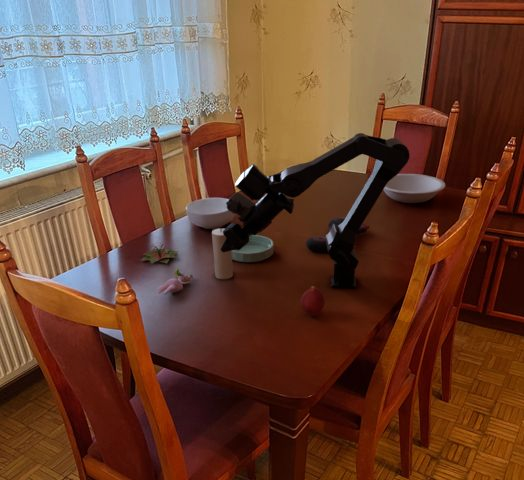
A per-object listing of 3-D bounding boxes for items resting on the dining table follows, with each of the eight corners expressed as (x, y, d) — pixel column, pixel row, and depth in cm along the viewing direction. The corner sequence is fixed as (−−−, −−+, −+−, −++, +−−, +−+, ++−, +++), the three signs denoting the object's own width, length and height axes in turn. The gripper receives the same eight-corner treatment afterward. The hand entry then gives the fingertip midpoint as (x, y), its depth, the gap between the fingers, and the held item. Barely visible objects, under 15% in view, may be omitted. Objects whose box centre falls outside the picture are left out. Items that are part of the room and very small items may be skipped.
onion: (309, 306, 137) (310, 278, 133) (328, 313, 134) (330, 284, 130) (296, 316, 133) (296, 287, 129) (315, 323, 130) (316, 293, 126)
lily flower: (186, 252, 168) (184, 238, 165) (169, 268, 158) (167, 253, 156) (151, 248, 171) (149, 234, 169) (133, 263, 162) (130, 249, 159)
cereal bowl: (207, 213, 197) (205, 194, 193) (245, 221, 189) (244, 201, 185) (177, 229, 185) (175, 208, 181) (217, 237, 177) (216, 216, 173)
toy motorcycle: (302, 255, 167) (351, 257, 159) (300, 239, 164) (350, 239, 156) (334, 230, 185) (379, 230, 177) (333, 215, 183) (378, 215, 175)
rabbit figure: (178, 282, 154) (151, 298, 141) (177, 261, 151) (149, 276, 138) (198, 285, 152) (172, 301, 139) (198, 264, 149) (171, 279, 136)
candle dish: (271, 263, 159) (271, 253, 157) (223, 263, 161) (222, 252, 159) (275, 244, 171) (275, 235, 169) (230, 244, 173) (229, 234, 171)
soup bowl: (386, 187, 217) (388, 171, 213) (447, 194, 208) (450, 177, 204) (368, 206, 199) (370, 188, 195) (435, 214, 190) (438, 196, 186)
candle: (231, 279, 151) (228, 231, 144) (213, 279, 152) (210, 231, 144) (234, 271, 155) (231, 225, 148) (217, 271, 156) (213, 224, 148)
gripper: (260, 175, 143) (226, 210, 153) (227, 196, 129) (192, 233, 139) (288, 208, 145) (252, 241, 155) (258, 232, 131) (221, 266, 141)
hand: (229, 244), depth 147 cm, fingers open, 9 cm apart
